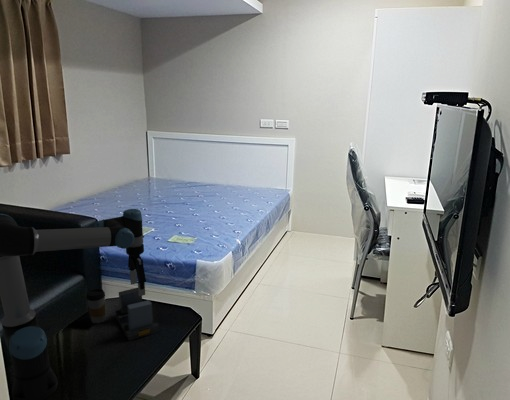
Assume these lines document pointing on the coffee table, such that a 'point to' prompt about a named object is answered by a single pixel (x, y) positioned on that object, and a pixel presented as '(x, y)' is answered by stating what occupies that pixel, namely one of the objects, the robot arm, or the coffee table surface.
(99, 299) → the coffee cup
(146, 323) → the gray rectangular block
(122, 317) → the rack
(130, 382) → the coffee table surface
